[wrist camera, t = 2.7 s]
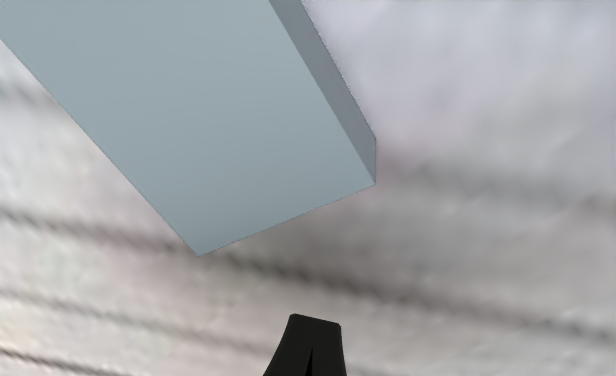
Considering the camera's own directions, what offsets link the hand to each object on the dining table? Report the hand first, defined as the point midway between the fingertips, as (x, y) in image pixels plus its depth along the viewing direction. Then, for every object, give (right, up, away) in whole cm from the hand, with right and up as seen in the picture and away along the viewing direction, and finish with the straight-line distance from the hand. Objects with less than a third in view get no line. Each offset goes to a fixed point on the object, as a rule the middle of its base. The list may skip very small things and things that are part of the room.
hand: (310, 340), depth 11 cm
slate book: (-3, +8, +1) cm, 8 cm away
